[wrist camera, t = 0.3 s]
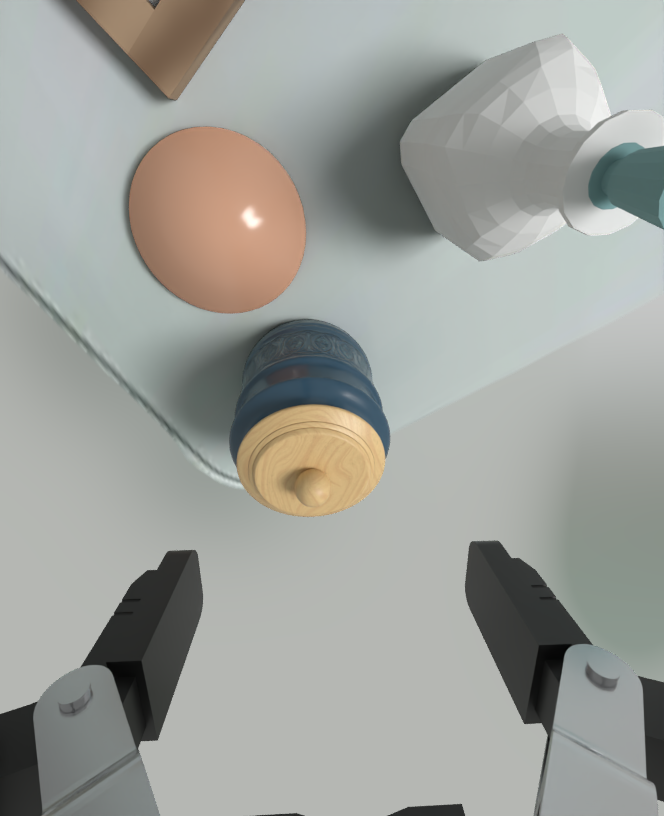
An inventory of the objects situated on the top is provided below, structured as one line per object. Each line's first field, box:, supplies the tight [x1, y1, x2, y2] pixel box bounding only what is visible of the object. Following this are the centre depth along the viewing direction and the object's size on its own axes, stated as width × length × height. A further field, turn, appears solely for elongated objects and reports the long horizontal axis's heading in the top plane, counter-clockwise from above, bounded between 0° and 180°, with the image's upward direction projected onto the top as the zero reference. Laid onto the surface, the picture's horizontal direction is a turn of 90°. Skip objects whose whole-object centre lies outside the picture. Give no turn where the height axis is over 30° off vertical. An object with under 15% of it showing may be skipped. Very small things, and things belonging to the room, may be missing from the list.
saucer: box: [129, 127, 306, 313], centre depth 33 cm, size 14×14×1 cm
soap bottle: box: [400, 34, 664, 261], centre depth 22 cm, size 10×10×23 cm
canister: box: [229, 320, 390, 517], centre depth 35 cm, size 13×13×18 cm
